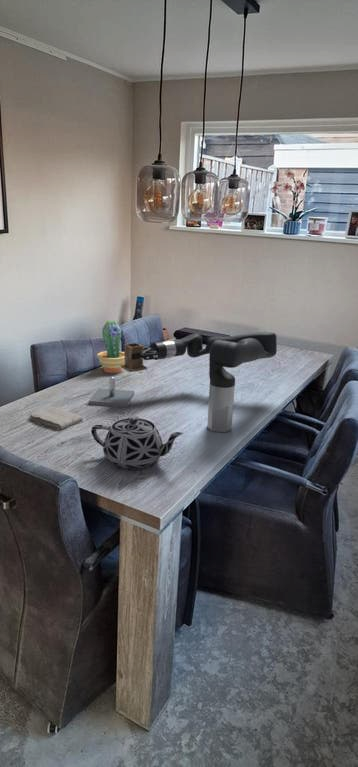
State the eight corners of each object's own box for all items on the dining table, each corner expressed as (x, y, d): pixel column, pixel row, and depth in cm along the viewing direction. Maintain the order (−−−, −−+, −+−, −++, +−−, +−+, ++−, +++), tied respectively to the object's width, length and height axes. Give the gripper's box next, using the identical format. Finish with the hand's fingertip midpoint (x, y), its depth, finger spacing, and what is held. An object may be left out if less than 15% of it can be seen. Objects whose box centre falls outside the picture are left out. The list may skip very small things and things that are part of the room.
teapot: (174, 482, 153) (176, 436, 148) (79, 466, 160) (78, 422, 155) (189, 455, 171) (191, 413, 166) (103, 442, 178) (102, 401, 173)
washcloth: (50, 411, 204) (50, 403, 203) (84, 421, 195) (84, 414, 194) (27, 420, 195) (26, 412, 194) (61, 432, 186) (61, 424, 185)
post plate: (127, 407, 210) (127, 384, 207) (88, 404, 211) (88, 381, 208) (134, 394, 225) (134, 372, 222) (98, 391, 226) (98, 370, 223)
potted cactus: (92, 373, 251) (91, 322, 244) (102, 364, 266) (102, 316, 258) (123, 375, 249) (123, 325, 241) (131, 367, 264) (132, 319, 256)
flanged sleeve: (146, 369, 214) (146, 346, 210) (129, 372, 210) (129, 348, 206) (137, 364, 220) (137, 341, 217) (120, 367, 216) (120, 344, 213)
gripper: (171, 362, 216) (136, 368, 207) (154, 354, 227) (120, 359, 218) (172, 345, 213) (136, 350, 205) (154, 337, 225) (120, 342, 216)
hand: (128, 355), depth 212 cm, fingers closed on flanged sleeve, 5 cm apart
